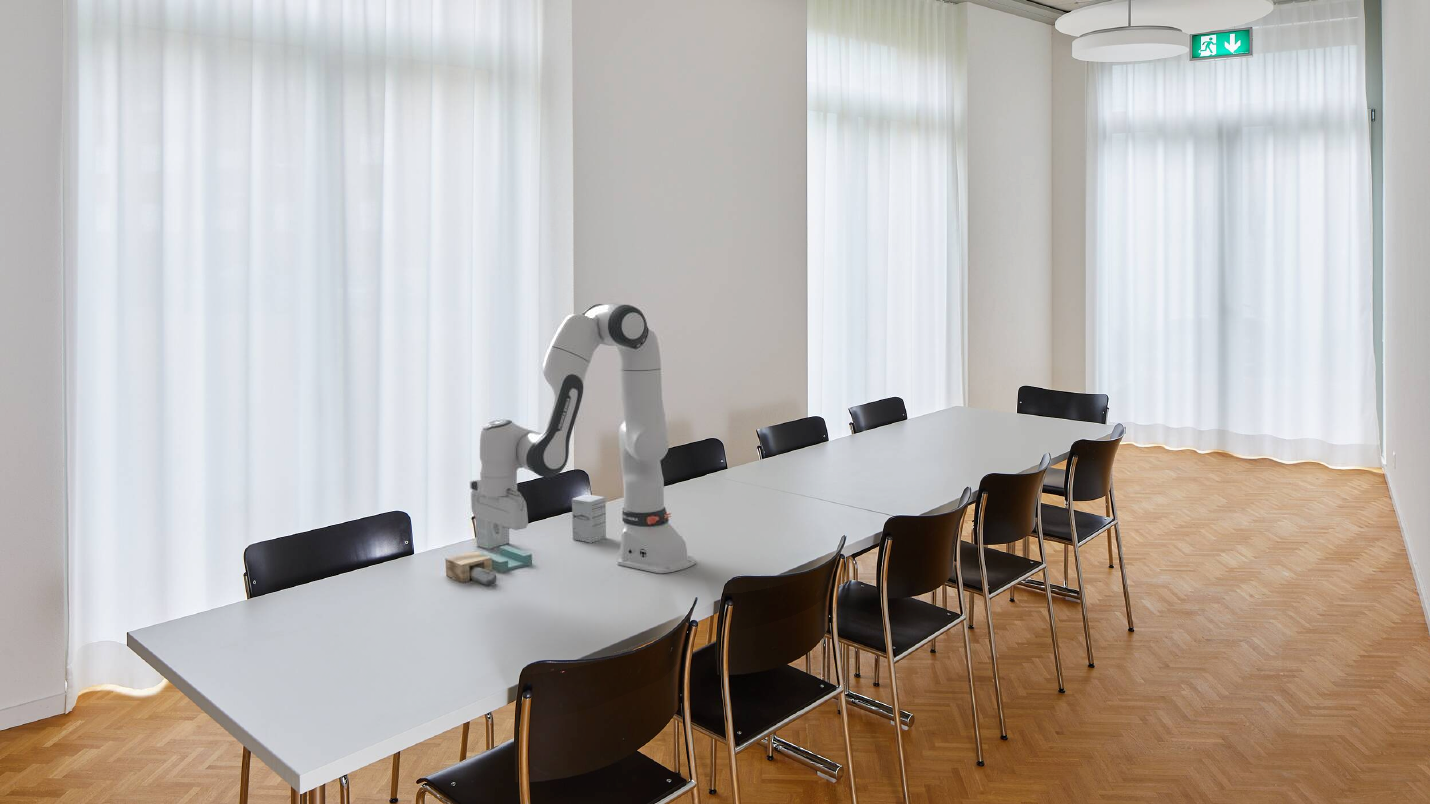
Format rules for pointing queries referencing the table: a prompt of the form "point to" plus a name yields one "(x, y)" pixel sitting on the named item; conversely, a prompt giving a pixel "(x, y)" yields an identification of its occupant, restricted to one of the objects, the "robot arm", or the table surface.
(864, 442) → the table surface
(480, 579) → the axle
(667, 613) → the table surface
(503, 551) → the cradle
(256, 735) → the table surface
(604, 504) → the supplement box
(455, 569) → the wooden bridge block
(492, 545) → the small box
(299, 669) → the table surface
